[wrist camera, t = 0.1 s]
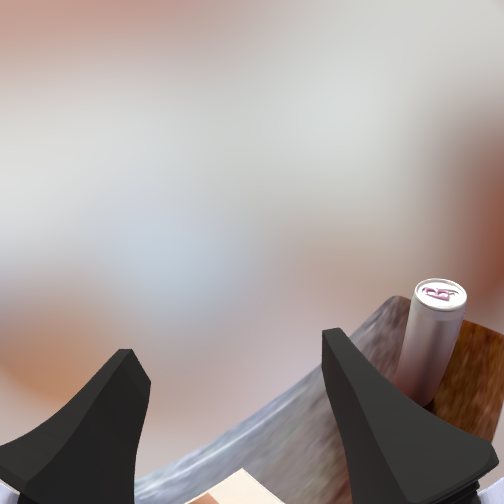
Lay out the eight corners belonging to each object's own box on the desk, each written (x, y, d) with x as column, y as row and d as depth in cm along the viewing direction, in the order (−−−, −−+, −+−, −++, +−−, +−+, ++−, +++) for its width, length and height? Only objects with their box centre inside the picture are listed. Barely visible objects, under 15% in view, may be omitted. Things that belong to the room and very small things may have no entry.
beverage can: (398, 372, 31) (418, 273, 25) (437, 382, 27) (469, 282, 22) (383, 404, 27) (407, 302, 21) (426, 416, 23) (467, 314, 18)
